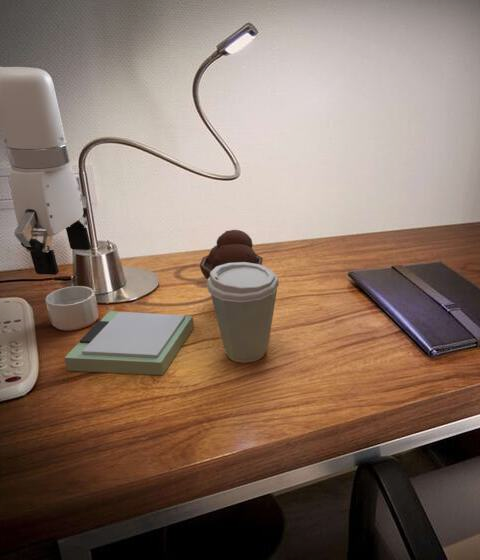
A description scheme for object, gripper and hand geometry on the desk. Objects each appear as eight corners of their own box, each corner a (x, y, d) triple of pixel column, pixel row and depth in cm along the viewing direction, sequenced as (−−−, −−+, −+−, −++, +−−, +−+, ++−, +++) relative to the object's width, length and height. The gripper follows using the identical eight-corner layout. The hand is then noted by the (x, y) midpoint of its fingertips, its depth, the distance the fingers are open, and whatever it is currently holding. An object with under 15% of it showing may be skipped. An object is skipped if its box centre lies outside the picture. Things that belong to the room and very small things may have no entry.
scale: (67, 370, 79) (63, 354, 77) (111, 322, 91) (108, 307, 90) (163, 375, 80) (160, 359, 78) (194, 327, 92) (192, 312, 91)
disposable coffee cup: (261, 329, 93) (257, 252, 87) (293, 357, 86) (292, 276, 80) (202, 348, 87) (194, 266, 80) (232, 381, 80) (225, 294, 73)
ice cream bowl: (199, 298, 101) (192, 225, 95) (258, 290, 106) (255, 220, 100) (208, 325, 93) (201, 247, 86) (271, 315, 98) (269, 240, 91)
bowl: (43, 330, 87) (36, 304, 85) (66, 309, 94) (60, 284, 91) (86, 332, 88) (80, 306, 86) (106, 312, 94) (101, 287, 92)
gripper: (47, 143, 86) (70, 240, 93) (-28, 169, 70) (6, 283, 78) (94, 145, 86) (113, 242, 94) (30, 173, 71) (59, 285, 78)
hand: (65, 260), depth 86 cm, fingers open, 9 cm apart
